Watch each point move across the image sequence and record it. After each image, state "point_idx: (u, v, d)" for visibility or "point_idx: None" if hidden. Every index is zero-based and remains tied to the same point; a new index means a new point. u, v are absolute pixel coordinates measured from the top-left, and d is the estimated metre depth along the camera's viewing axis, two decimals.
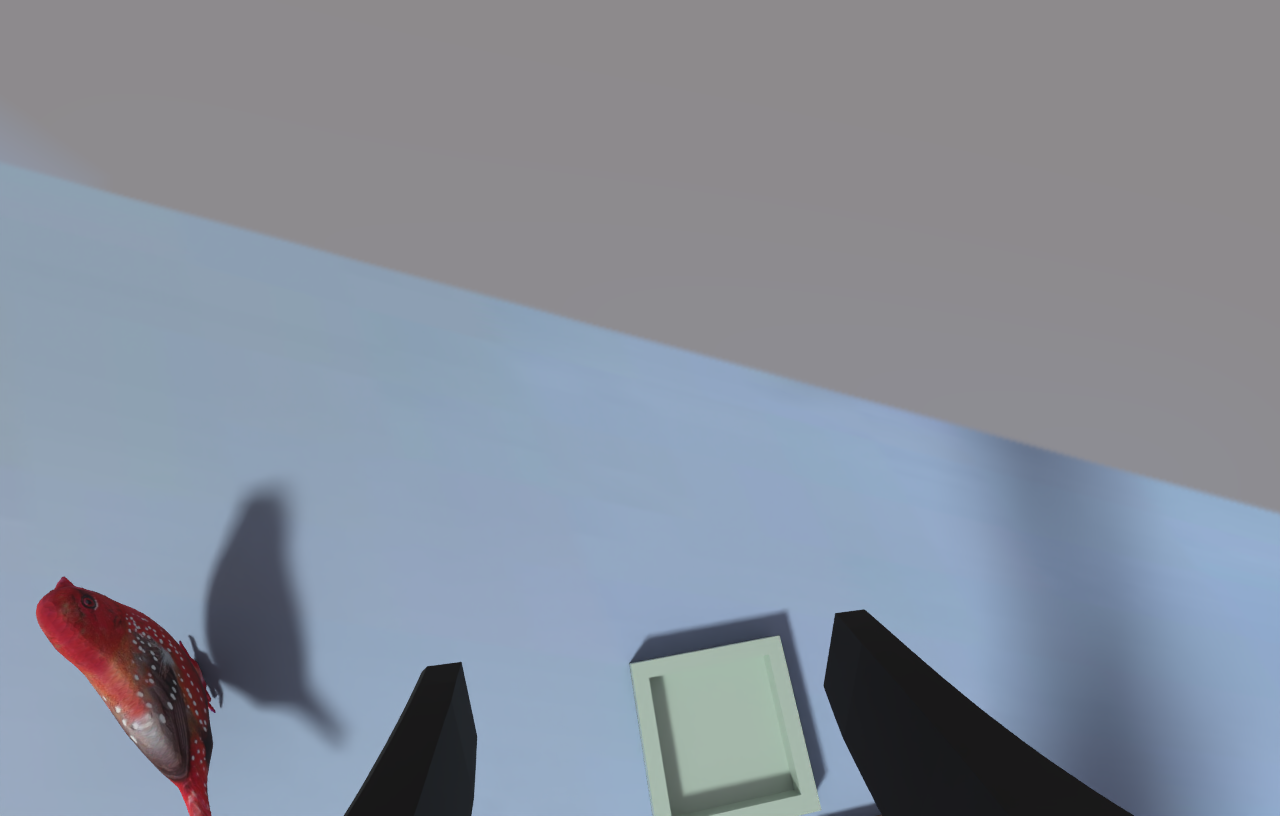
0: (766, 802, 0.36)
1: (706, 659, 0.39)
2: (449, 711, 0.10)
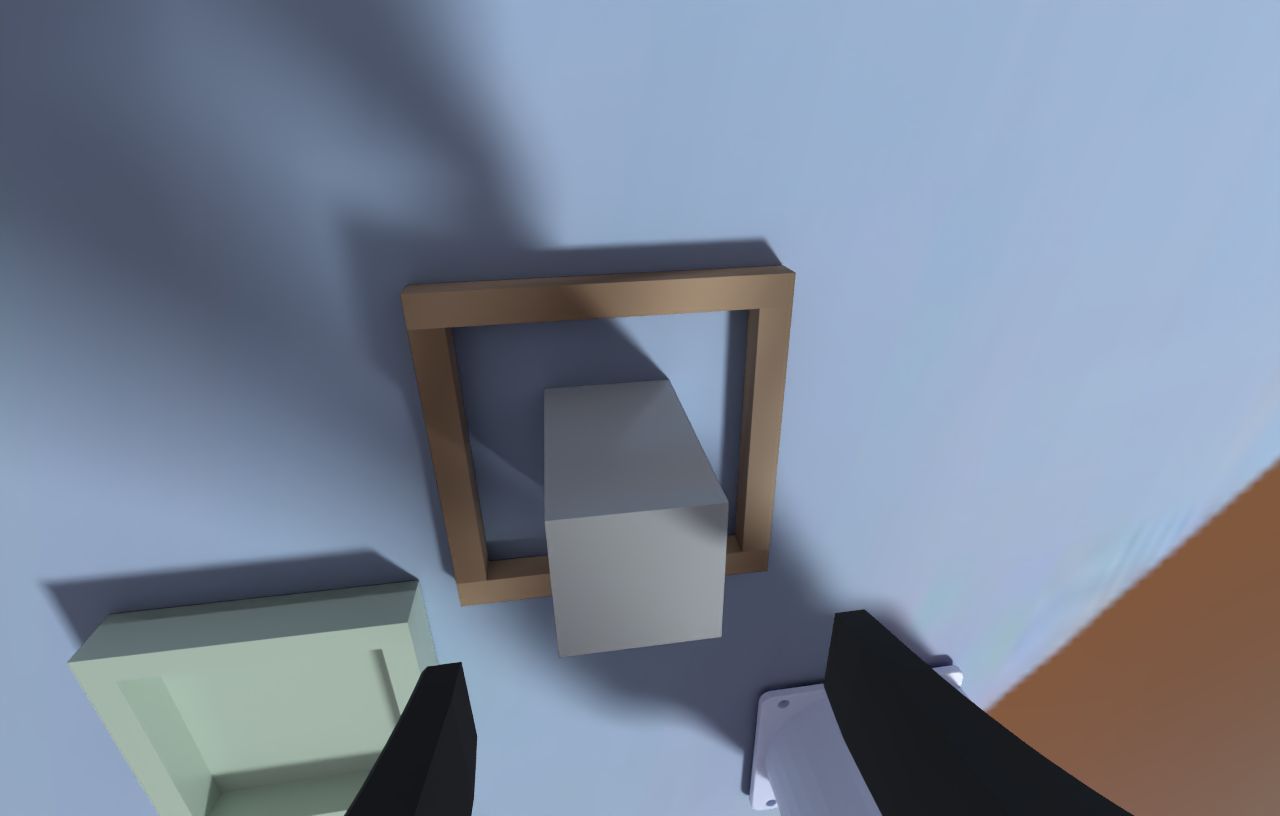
0: (395, 693, 0.21)
1: (150, 767, 0.21)
2: (449, 711, 0.10)
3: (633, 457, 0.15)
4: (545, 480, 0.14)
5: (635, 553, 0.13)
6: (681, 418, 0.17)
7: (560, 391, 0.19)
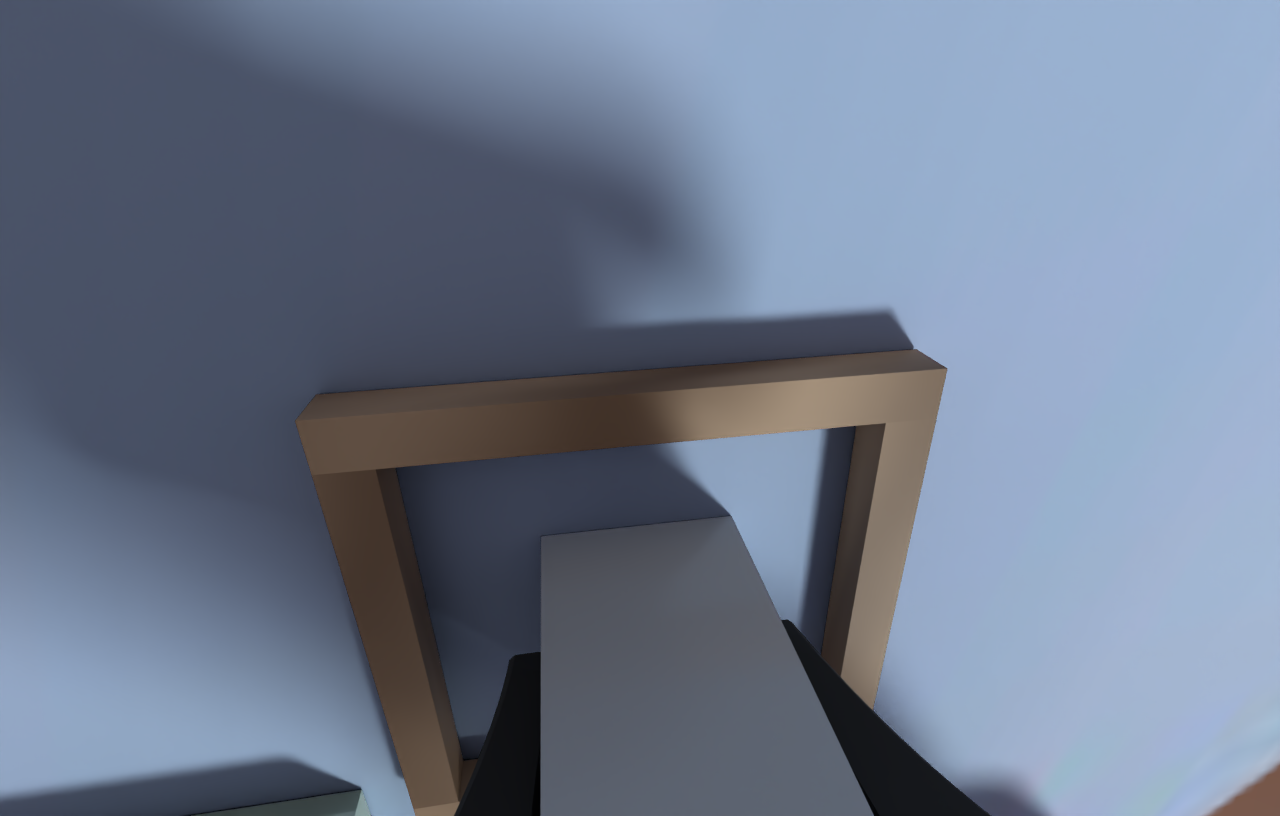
0: None
1: None
2: None
3: (700, 729, 0.08)
4: (542, 805, 0.07)
5: None
6: (767, 615, 0.10)
7: (567, 543, 0.12)
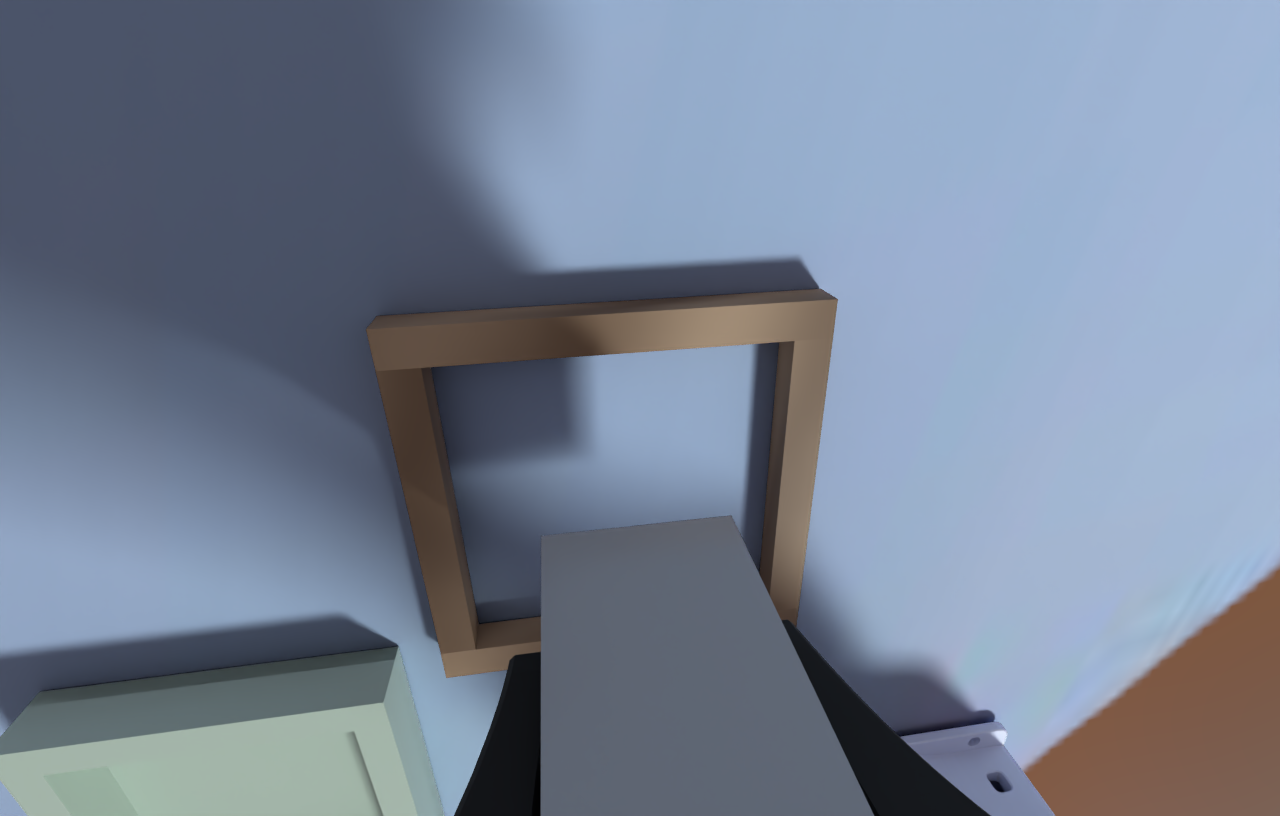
0: (371, 777, 0.18)
1: None
2: None
3: (701, 729, 0.08)
4: (543, 804, 0.07)
5: None
6: (767, 614, 0.10)
7: (567, 542, 0.12)
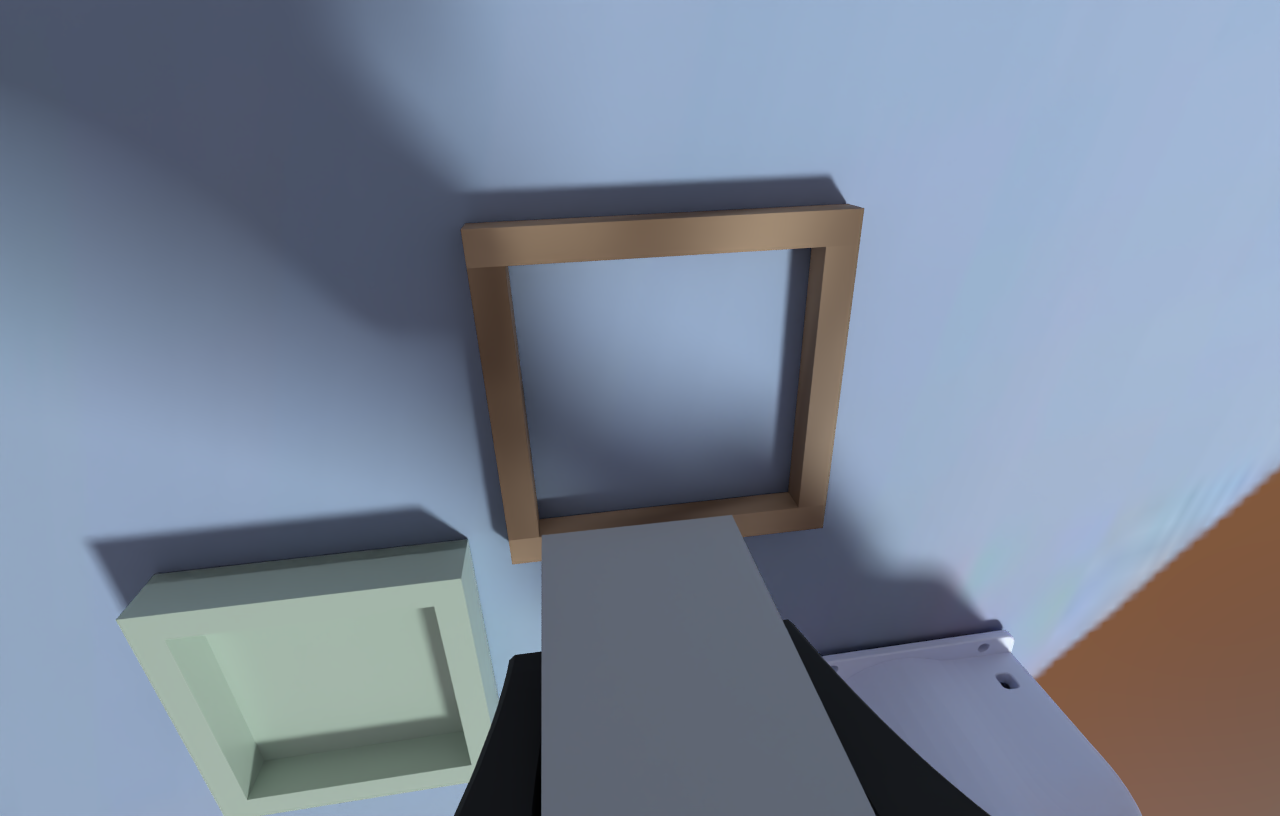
0: (446, 654, 0.20)
1: (197, 731, 0.20)
2: None
3: (701, 728, 0.08)
4: (543, 804, 0.07)
5: None
6: (768, 614, 0.10)
7: (567, 542, 0.12)
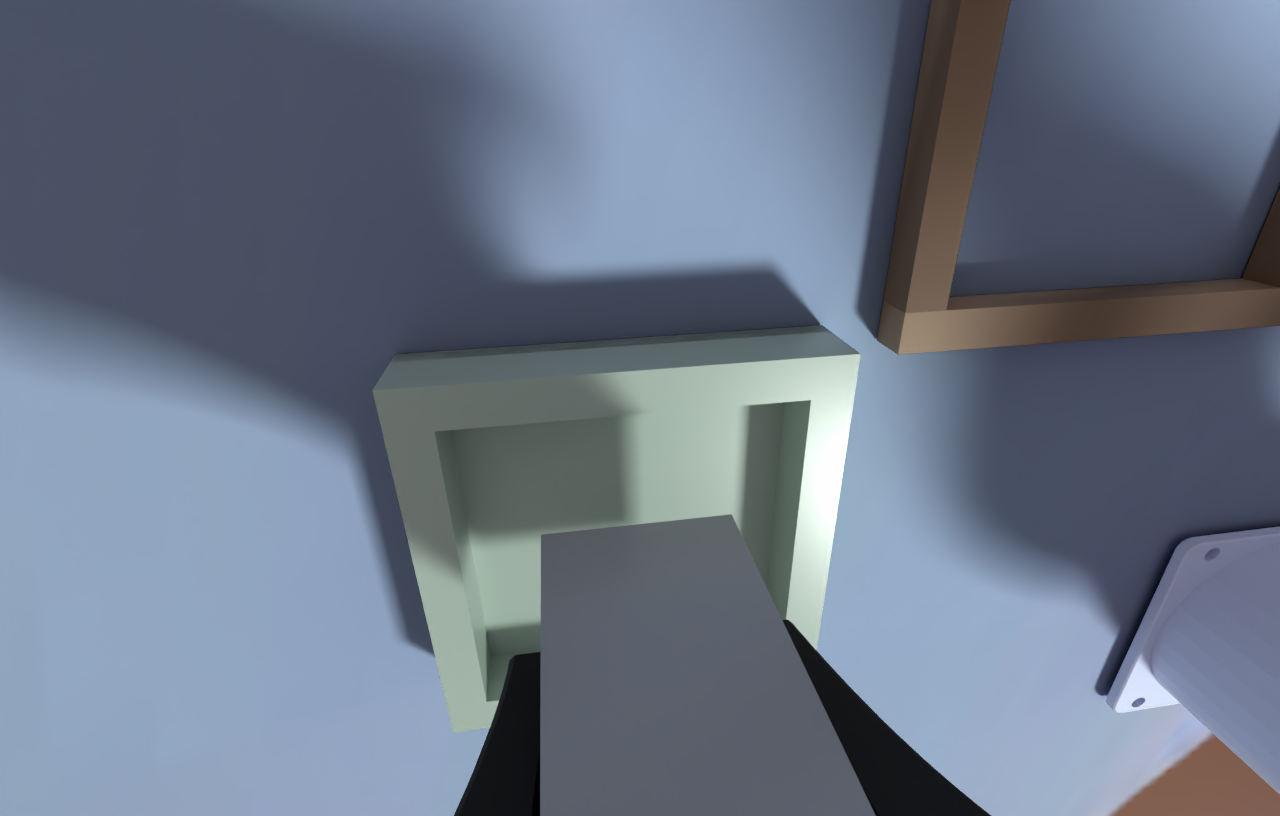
0: (800, 483, 0.14)
1: (446, 589, 0.14)
2: None
3: (700, 727, 0.08)
4: (542, 803, 0.07)
5: None
6: (767, 613, 0.10)
7: (566, 541, 0.12)
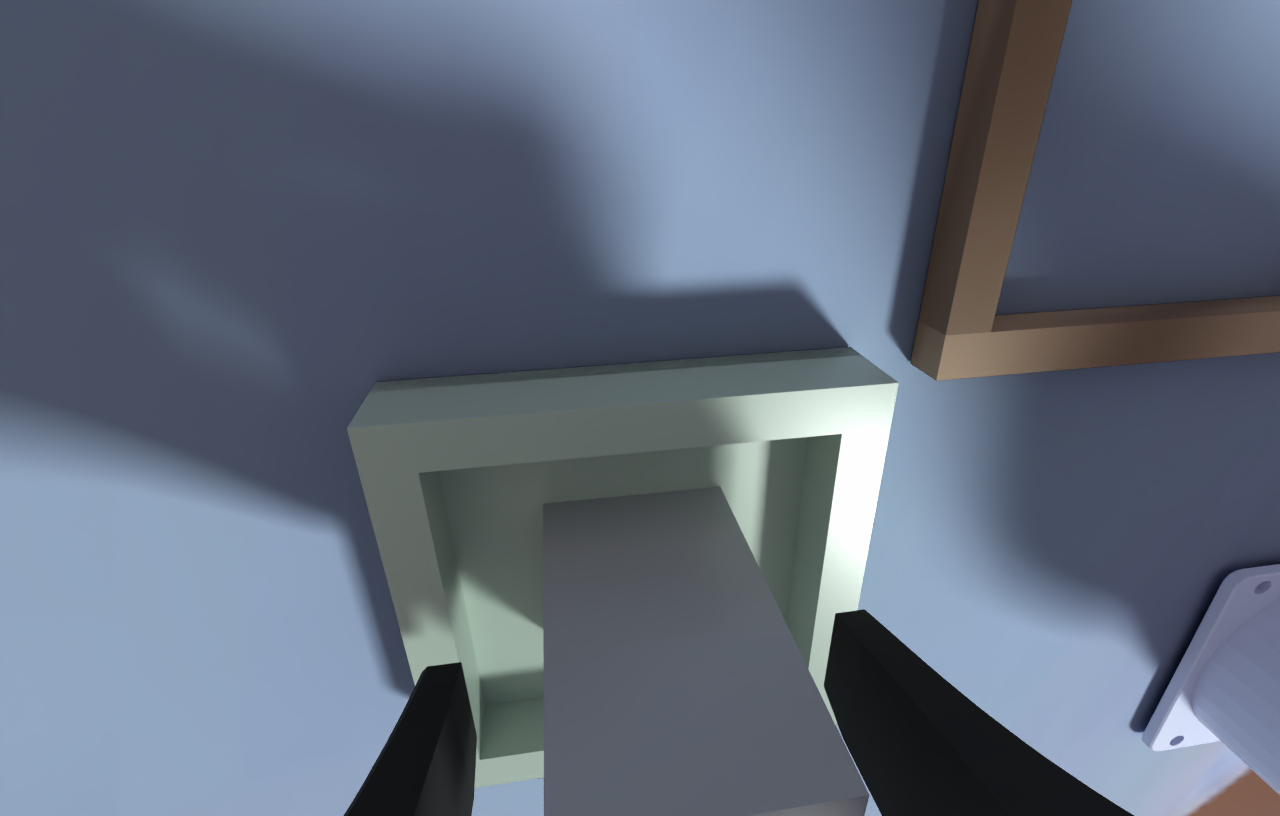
0: (828, 524, 0.13)
1: (433, 643, 0.13)
2: (449, 711, 0.10)
3: (687, 664, 0.09)
4: (545, 724, 0.08)
5: None
6: (750, 570, 0.11)
7: (567, 509, 0.13)
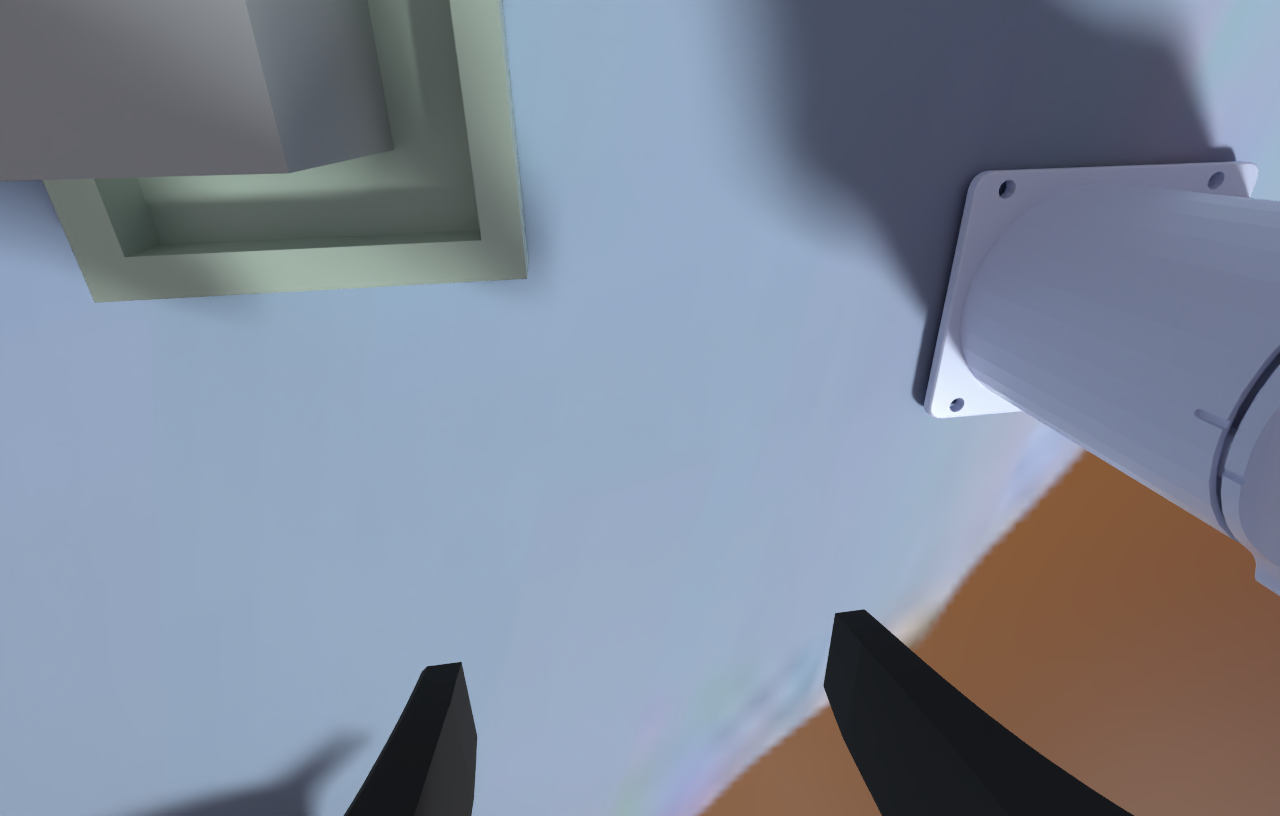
0: None
1: None
2: (449, 711, 0.10)
3: None
4: None
5: None
6: None
7: None
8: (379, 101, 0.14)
